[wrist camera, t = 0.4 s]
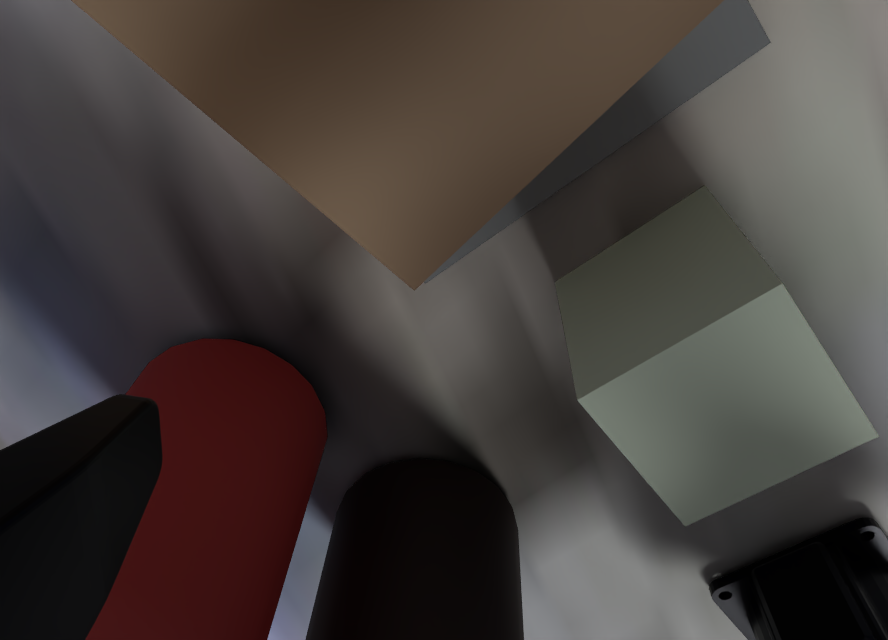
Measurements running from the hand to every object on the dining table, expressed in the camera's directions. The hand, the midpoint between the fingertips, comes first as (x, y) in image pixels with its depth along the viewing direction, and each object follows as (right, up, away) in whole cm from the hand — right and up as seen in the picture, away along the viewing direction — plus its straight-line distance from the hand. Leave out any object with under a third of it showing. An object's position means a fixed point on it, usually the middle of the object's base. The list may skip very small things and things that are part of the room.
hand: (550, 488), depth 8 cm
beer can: (-8, -1, +17) cm, 19 cm away
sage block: (+6, +3, +14) cm, 15 cm away
